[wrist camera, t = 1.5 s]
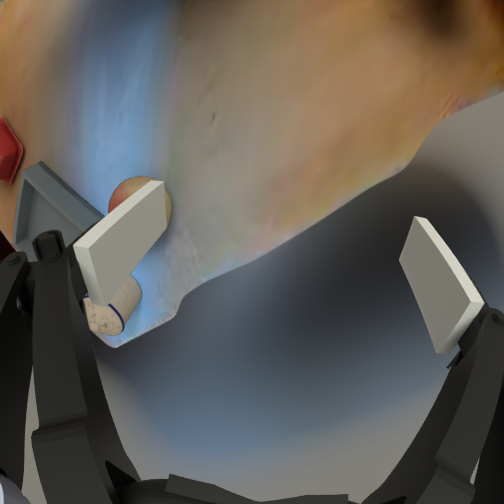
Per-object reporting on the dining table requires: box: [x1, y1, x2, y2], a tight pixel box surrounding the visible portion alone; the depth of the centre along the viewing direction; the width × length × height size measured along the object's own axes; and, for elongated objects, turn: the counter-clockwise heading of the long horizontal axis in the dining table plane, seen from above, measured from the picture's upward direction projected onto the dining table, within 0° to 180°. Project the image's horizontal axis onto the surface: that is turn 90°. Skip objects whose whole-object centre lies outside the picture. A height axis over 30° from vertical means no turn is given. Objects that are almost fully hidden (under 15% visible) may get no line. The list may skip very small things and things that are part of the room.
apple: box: [108, 176, 172, 225], centre depth 36 cm, size 9×9×8 cm
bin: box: [12, 161, 105, 262], centre depth 43 cm, size 20×20×5 cm
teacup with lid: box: [83, 275, 142, 336], centre depth 46 cm, size 12×9×12 cm
